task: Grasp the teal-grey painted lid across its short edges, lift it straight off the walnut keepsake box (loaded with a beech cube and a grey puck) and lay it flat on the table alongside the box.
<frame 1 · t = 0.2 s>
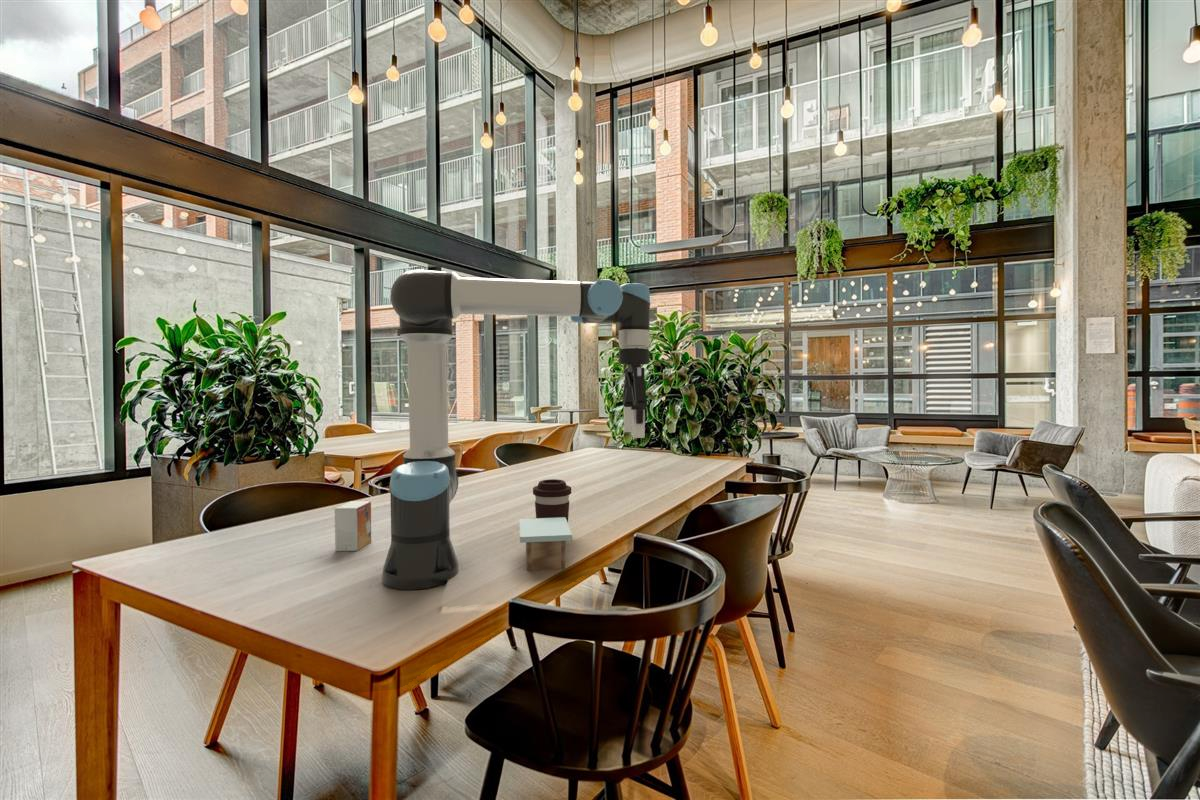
hand: (633, 434, 134), 28 cm above the table, fingers open, 13 cm apart
lid: (544, 531, 123), point 7 cm above the table, touching box
box: (544, 562, 123), on the table
grey puck: (543, 553, 126), point 1 cm above the table, touching box
small box: (354, 547, 134), on the table
beech cube: (545, 563, 120), point 1 cm above the table, touching box
coffee cup: (552, 539, 141), on the table
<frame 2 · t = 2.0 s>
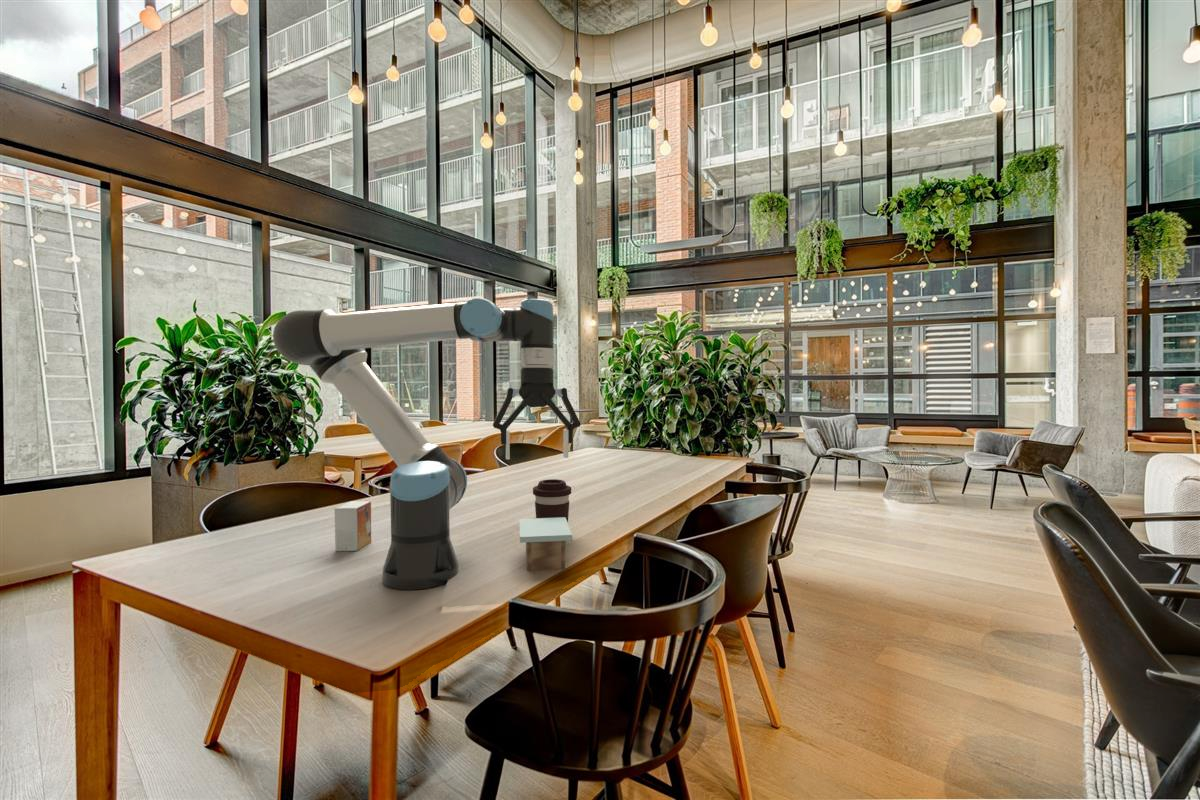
hand: (537, 458, 127), 23 cm above the table, fingers open, 13 cm apart
nothing on the table moved.
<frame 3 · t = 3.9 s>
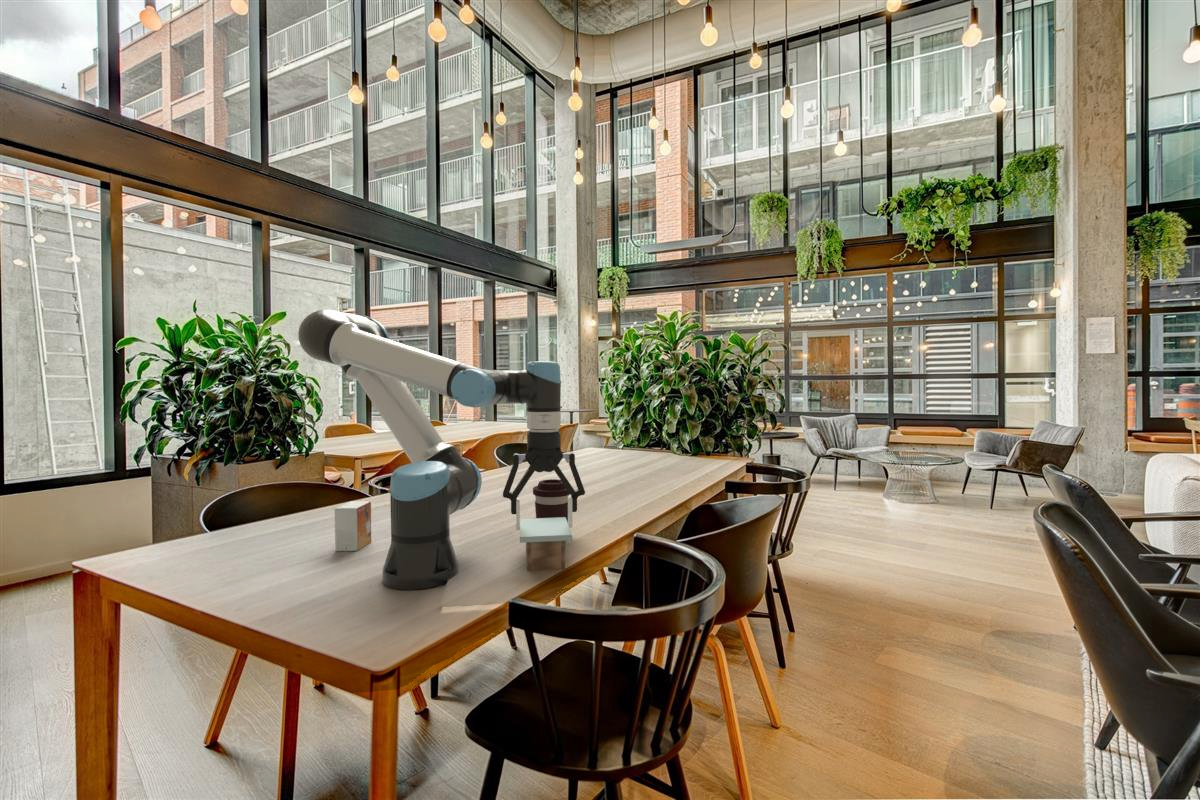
hand: (544, 527, 122), 8 cm above the table, fingers closed on lid, 11 cm apart
lid: (544, 531, 123), point 7 cm above the table, touching box, gripper
everything else where it was.
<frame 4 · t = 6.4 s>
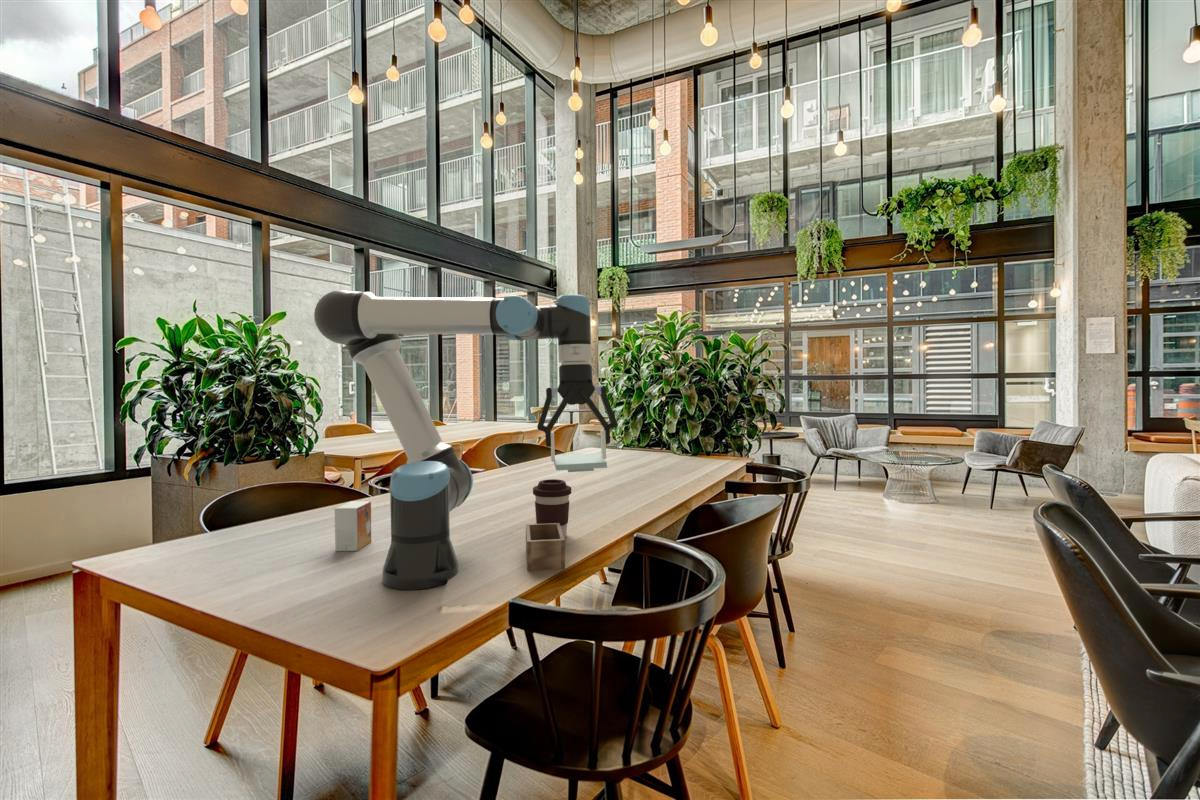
hand: (578, 459, 125), 23 cm above the table, fingers closed on lid, 11 cm apart
lid: (578, 463, 125), point 22 cm above the table, touching gripper
everything else where it was.
when the fingers open (4 cm above the table, at t = 8.8 s): lid drops 2 cm, on the table.
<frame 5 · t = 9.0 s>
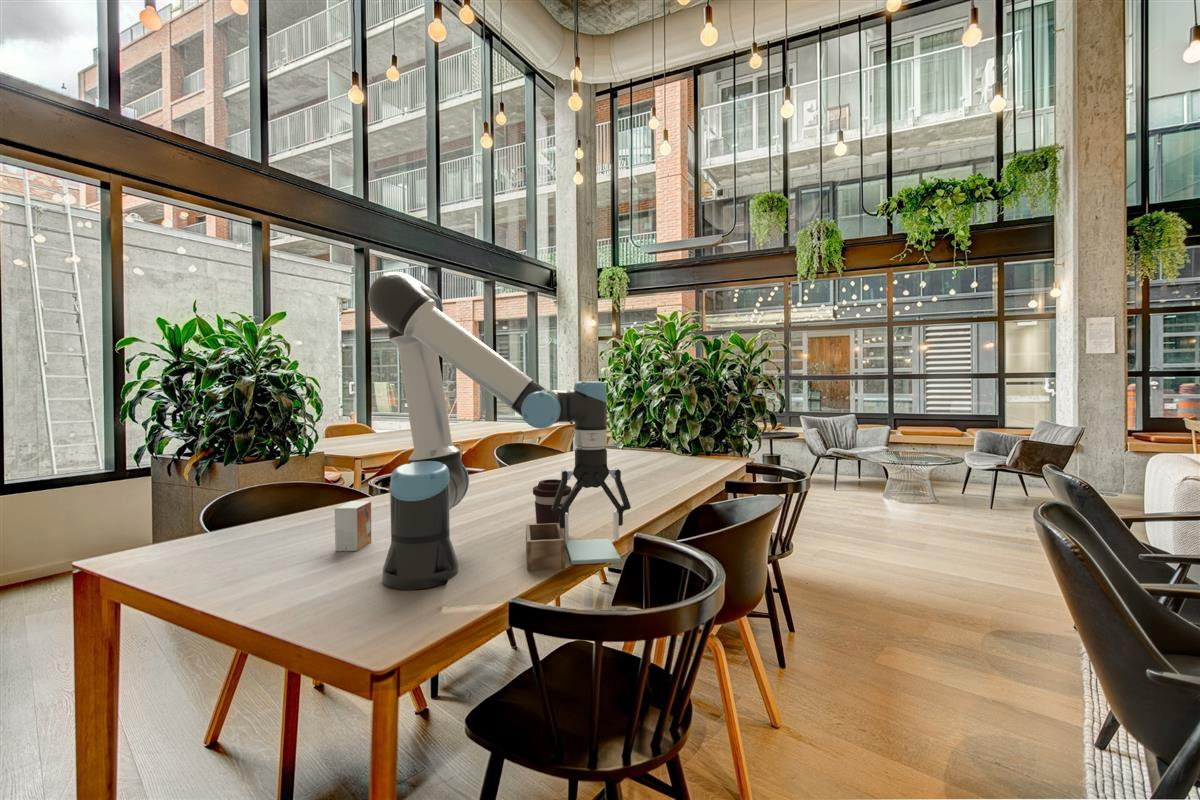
hand: (591, 540, 127), 4 cm above the table, fingers open, 11 cm apart
lid: (591, 553, 127), on the table
everything else where it was.
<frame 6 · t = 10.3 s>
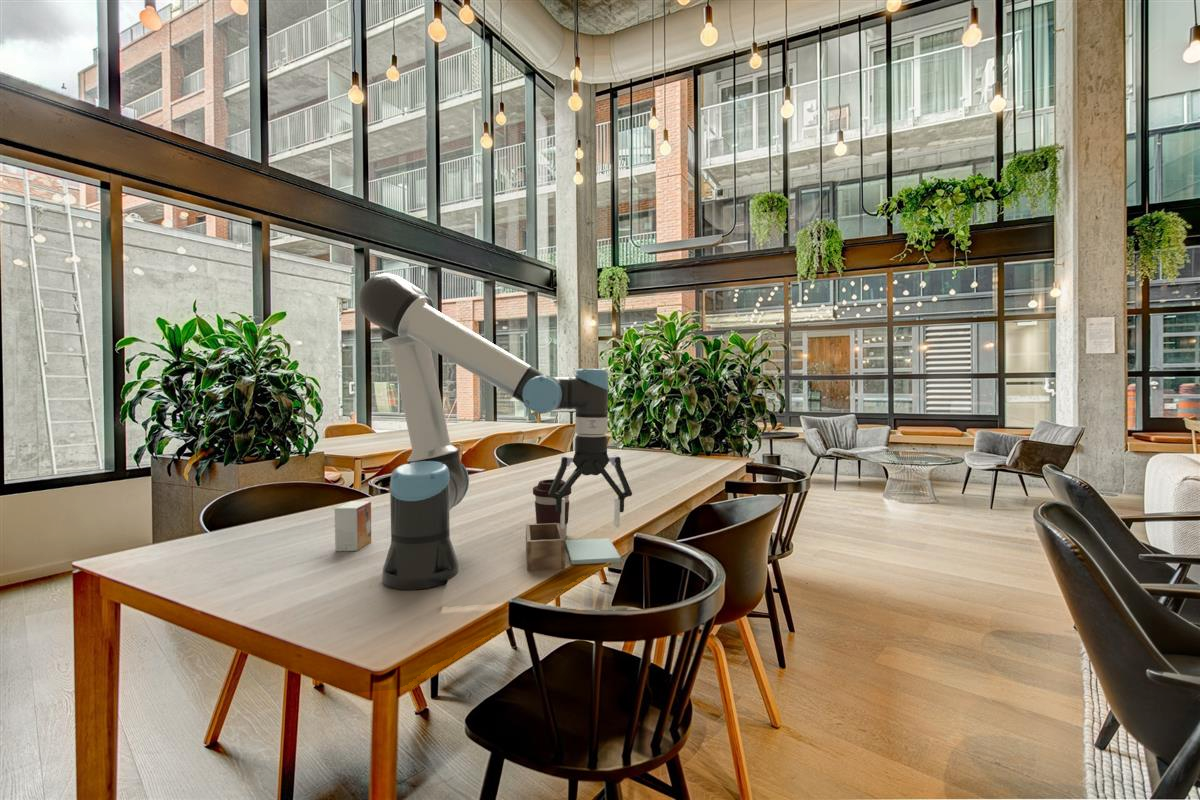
hand: (589, 526, 127), 7 cm above the table, fingers open, 12 cm apart
nothing on the table moved.
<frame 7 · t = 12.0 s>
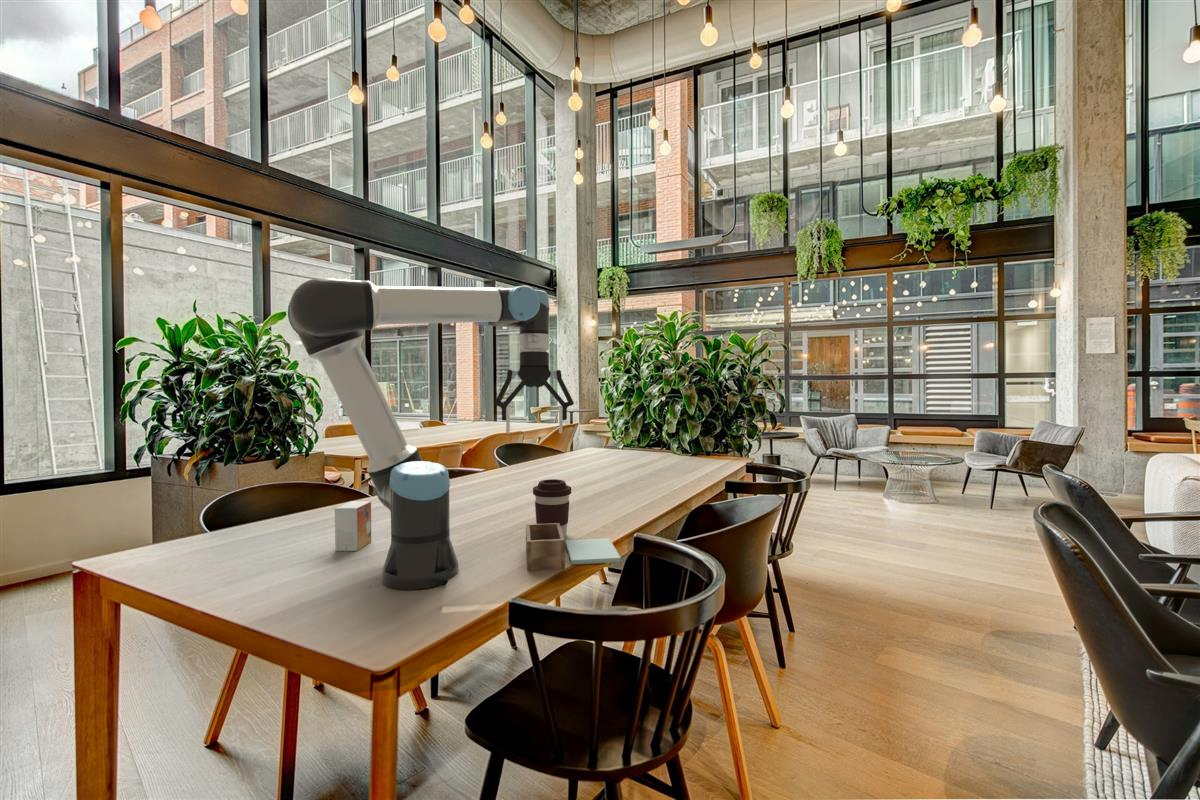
hand: (534, 433, 141), 27 cm above the table, fingers open, 13 cm apart
nothing on the table moved.
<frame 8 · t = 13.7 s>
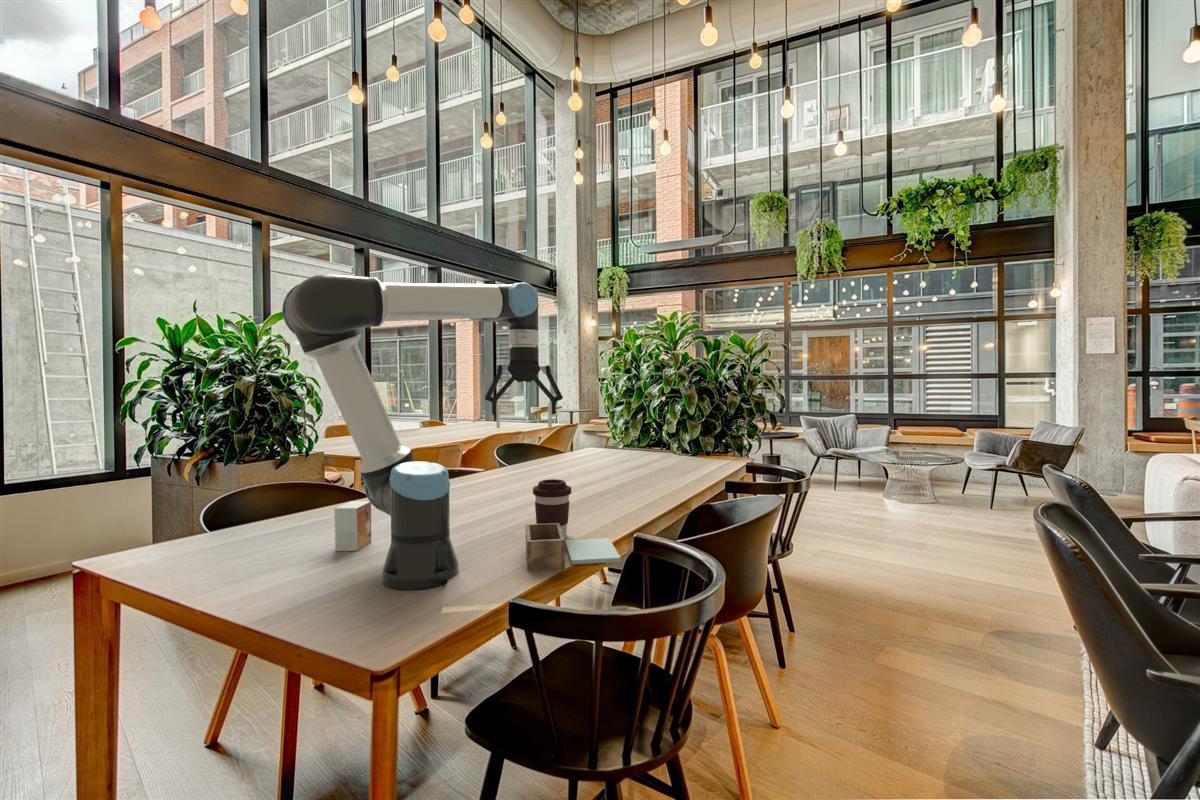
hand: (524, 427, 144), 29 cm above the table, fingers open, 13 cm apart
nothing on the table moved.
at the end: lid inside the target area (0.2 cm from its centre), point 0.5 cm above the table; lid tilted 0°; lid touching table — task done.
